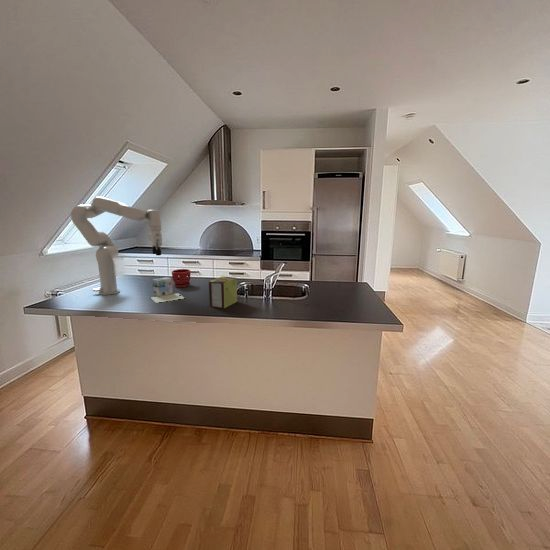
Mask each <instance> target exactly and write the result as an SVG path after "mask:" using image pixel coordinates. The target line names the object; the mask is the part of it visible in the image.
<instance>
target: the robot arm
mask: <svg viewBox="0 0 550 550" xmlns="http://www.w3.org/2000/svg"><path fill="white" fill-rule="evenodd" d="M70 212H71V213H70V219H71V222H72V223H73V225H74V226H75V227H76V228H77V230H78V231H79V232H80V233H81V235H82V237H83V238H84V240H86V242H87V243H88V244H89V245H90V246H91V247H98V248H97V250H96V252H95V258H96V262H97V265H98V266H97V267H98V273H99V275H98V276H99V282H100V286H99V287H95V288H92V292H95V293H96V292H98V295H100V296H101V295H102V296H107V295H109V296H110V295H115V294H118V293H120V292H121V290H120V289H119V288H118V284H117V276H116V274H117V273H116V265H115V262H114V259H115V258H116V257H118V255H119V250H118V248H117V246H116V244H115V243H114V242H113V241H112V239H111V238H110V237H109V235H108V234H107V233H105V232H104V231H100V230H99V231H98V230H97V229H96V228H95V226H94V225H93V223H92V222H91V221H89V219H93V218H96V217H98V216H100V215H101V214H104V213H109V214H113V215H115V216H119V217H122V218H125V219H130V220H132V221H136V222H145V221H148V222H147V223H148V231H149V232H150V240H151V241H150V242H151V243H150V244H151V246H152V250H151V251H152V255H155V256H161V255H162V245H163V242H162V223H161V222H162V221H161V211H160V210H159V209H143V208H136V207H131V206H129V205H126V204H125V203H123V202H121V201H119V200H118V201H117V200H113V199H111V198H108V197H105V196H104V197H103V196H95V197H94V198H93V199H92V203H90V204H78V205H76V206H74V207H73V209H72V210H71V211H70Z"/></svg>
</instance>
